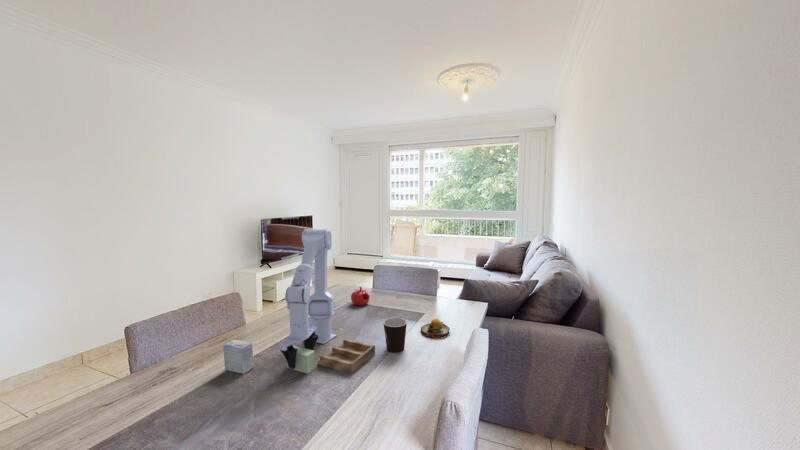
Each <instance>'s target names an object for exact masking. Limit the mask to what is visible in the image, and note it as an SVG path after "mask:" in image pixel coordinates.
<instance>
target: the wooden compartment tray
mask: <svg viewBox="0 0 800 450" xmlns="http://www.w3.org/2000/svg"><path fill="white" fill-rule="evenodd" d="M375 354H376V345H374V344H368V343H364V342H360V341H356V340H353V339H352V340H351V339H347V338H344V339H343V342H342V343H341V344H340V345H339V346H332V347H331V351H330V352H328V353H327V354H325V355H323V354H321V355H319V359H318V361H317V365H320V366H323V367H326V368H330V369H333V370H337V371H340V372H344V373H347V374H350V375H352V374H354V373H355V372H356V371H357V370H359V369H360V368H361V367H362V366H363V365H364V364H365V363H366V362H368V361H369V360H370V359H371V358H372V357H373V356H374V355H375Z"/></svg>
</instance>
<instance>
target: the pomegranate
mask: <svg viewBox="0 0 800 450" xmlns="http://www.w3.org/2000/svg"><path fill="white" fill-rule="evenodd" d="M350 300H351V303H352V304H353V305H355V306H358V307H359V306H366V305H368V303H369V301H370V294H369V293H368V289H363V288H362V286H359V289H357V288H355V289H354V290H353V292H352V293H351V296H350Z"/></svg>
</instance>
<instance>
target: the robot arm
mask: <svg viewBox="0 0 800 450" xmlns="http://www.w3.org/2000/svg"><path fill="white" fill-rule="evenodd" d="M332 239H333V238H332V232H331V230H330V229H329V228H324V229H323V228H321V229H318V228H316V229H315V228H313V229H311V228H310V229H308V228H305V229H304V230H303V231H302V233H301V241H302V245H303V252H302V257H301V263H300V264H298V265H297V266H296V268H295V272H294V275H293V278H292V281H291V285H290V286H288V287H287V288H286V290H285V293H284V294H285V295H284V296H285V297H284V299H285V300H284V301H285V303H286V308H287V310H288V311H289V334H288V336H287V338H286V339H284V340H283V341H282V342H280V344H279V349H280V352H281V353H282V355H283V356H284V358H285V361H286V364H287V363H288V366H289V368H288V369H290V368H291V370H293V369H295V366H296V354H297V350H298V349H296V348H294V347H293V346H295V344H297V343H301V342H303V344H304V348H305V349H309V350H313V351H315V346H316V343H319V344H321V345H325V344H326V343H328V342H330V340H333V339H334V338H335V337H337V334H335V333H332V317H333V316H334V314H335V312H336V302H335V296H334V294H332V293H331V292H329V291H328V251H329V250H331V249H332V242H333V241H332ZM313 264H314V268H313V267H312V266H313ZM313 274H314V293H312V294H311V288H312V286H311V281H312V278H313Z"/></svg>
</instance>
